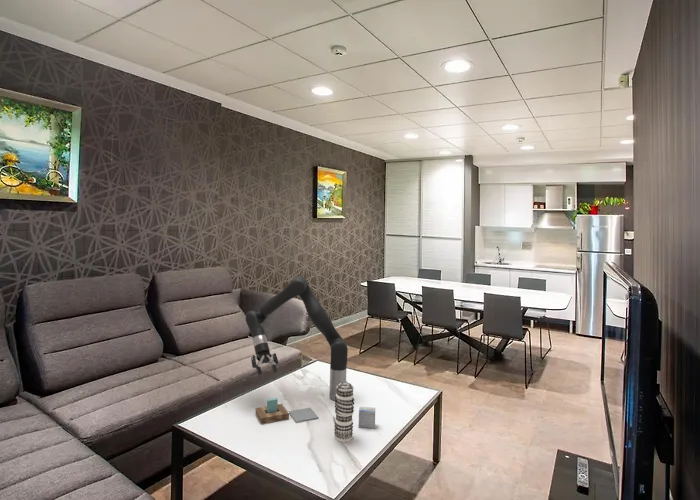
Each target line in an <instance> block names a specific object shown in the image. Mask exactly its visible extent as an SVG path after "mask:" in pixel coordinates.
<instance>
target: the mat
mask: <svg viewBox="0 0 700 500" xmlns="http://www.w3.org/2000/svg"><path fill="white" fill-rule="evenodd" d="M287 411H288V410H287ZM288 412H289V416H291V418H292V420H293V421H294V422H295V424H297V423H302V422H308V421H314V420H319V416H318V415H317V414H316V413H315V411H314V410H313V409H312V408H311V407H305V408H299V409H294V410H289V411H288Z"/></svg>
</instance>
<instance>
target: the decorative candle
mask: <svg viewBox="0 0 700 500" xmlns="http://www.w3.org/2000/svg"><path fill="white" fill-rule="evenodd" d="M336 388H337V393H336V396H335V401H334V402H335V403H334V409H335V410H334V412H335V421H334V430H333V431H334V433H333V434H334V439H335V440H336V441H338V442H343V443H344V442H349V441H351V440H352V439H353V434H354V433H353V431H354V429H353V428H354V426H353V425H354V422H353V421H354V419H353V414H354V411H355V410H354V409H355V407H354V405H355V398H354V393H353V392H354V389H355V387H354V385H352V384H351V383H350V382H348V381H347V382H342V383H340V384H339V385H338V386H337V387H336ZM336 399H337V400H336Z"/></svg>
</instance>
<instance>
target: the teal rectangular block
mask: <svg viewBox="0 0 700 500" xmlns="http://www.w3.org/2000/svg"><path fill="white" fill-rule="evenodd" d="M278 404H279V400H278V398H277V397H273V398H267V399H266V406H267V413H273V412H277V408H278Z"/></svg>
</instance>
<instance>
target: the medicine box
mask: <svg viewBox="0 0 700 500" xmlns="http://www.w3.org/2000/svg"><path fill="white" fill-rule="evenodd" d="M375 425H376V407H369V406H359V409H358V428H365V429H375V428H376V427H375Z"/></svg>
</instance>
